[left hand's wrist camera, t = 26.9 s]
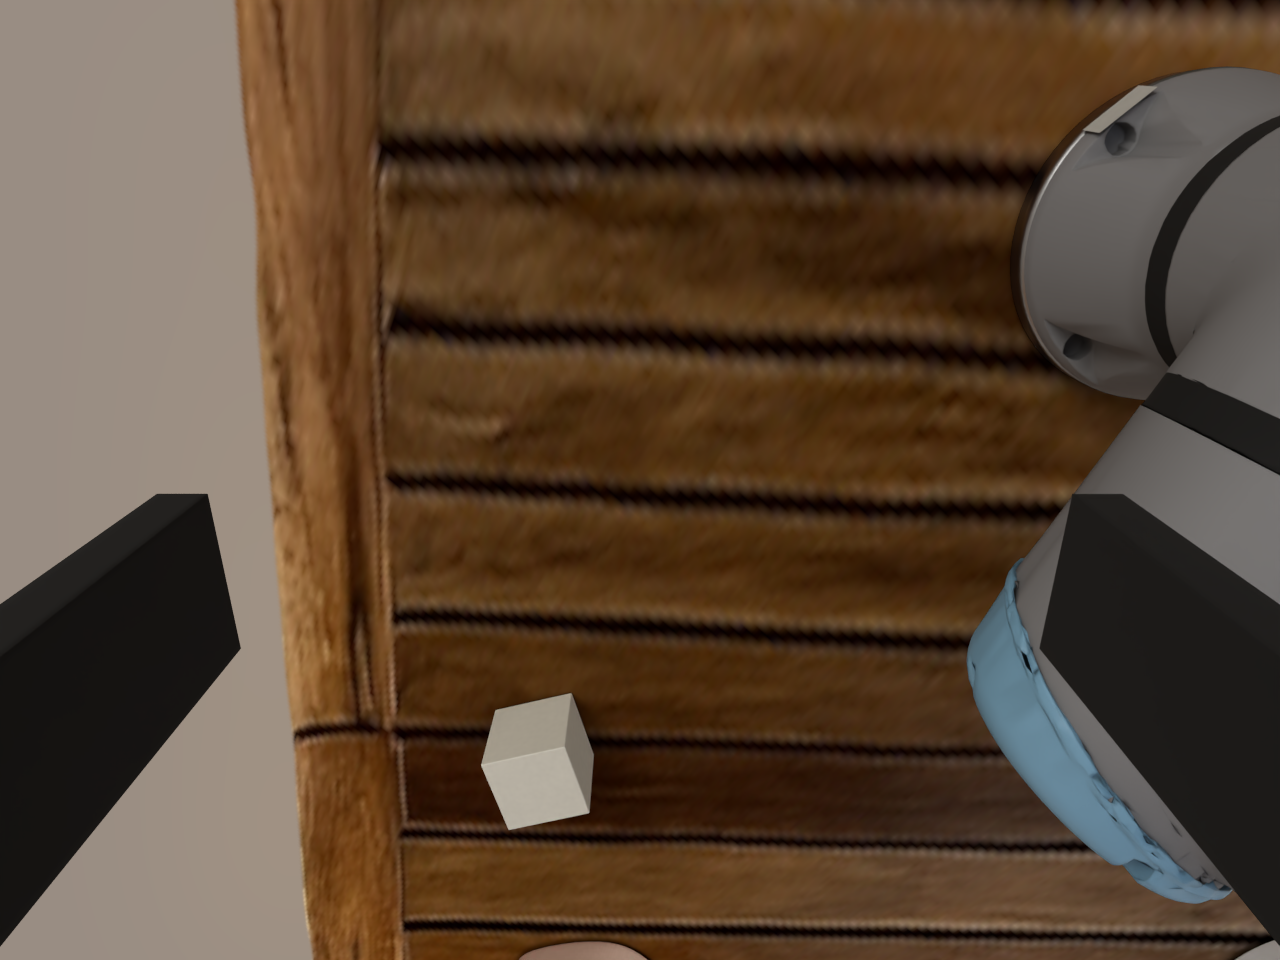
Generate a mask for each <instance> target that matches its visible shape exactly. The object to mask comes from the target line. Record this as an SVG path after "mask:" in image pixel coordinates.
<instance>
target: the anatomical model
mask: <svg viewBox="0 0 1280 960" xmlns="http://www.w3.org/2000/svg"><path fill="white" fill-rule="evenodd" d="M519 960H647V959H646V958H645V957H643V956H642V955H640V954H639V953H637V952H635V951H634V950H632V949H630V948H628V947H625V946H622V945H619V944H615V943H610V942H597V941H587V942H573V943H566V944H559V945H553V946H548V947H544V948H540V949H536V950H533V951H530V952H528V953H526V954H525V955H523V956H522V957H521V958H520V959H519Z"/></svg>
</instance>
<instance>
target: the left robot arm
mask: <svg viewBox="0 0 1280 960" xmlns="http://www.w3.org/2000/svg"><path fill="white" fill-rule="evenodd" d="M1010 277H1011V288H1012V294H1013V299H1014V304H1015V307H1016V310H1017V314H1018V316H1019V319H1020V321H1021V323H1022V326H1023V328H1024V330H1025V332H1026V333H1027V335H1028V337H1029V339H1030V340H1031V341H1032V343H1033V344H1034V346H1035V347H1036V348H1037V350H1038V351H1039V352H1040V353H1041V354H1042V355H1043V356H1044V357H1045V358H1046V359H1047V360H1048V361H1049V362H1050V363H1051V364H1053V365H1054V366H1055V367H1056V368H1058V369H1059V370H1061V371H1062V372H1064V373H1065V374H1067V375H1068V376H1070V377H1072V378H1074V379H1076V380H1078V381H1080V382H1082V383H1084V384H1086V385H1088V386H1090V387H1092V388H1094V389H1097V390H1099V391H1102V392H1105V393H1108V394H1112V395H1116V396H1120V397H1127V398H1133V399H1140V400H1145V402H1144V403H1143V404H1142V405H1143V406H1141V405H1140V406H1139V408H1138V409H1137V410H1136V412H1135V413H1134V414H1133V416H1132V417H1131V418H1130V420H1129V421H1128V422H1127V424H1126V425H1125V426H1124V428H1123V429H1122V430H1121V432H1120V433H1119V434H1118V436H1117V437H1116V438H1115V440H1114V441H1113V442H1112V444H1111V445H1110V446H1109V448H1108V449H1107V450H1106V452H1105V453H1104V454H1103V456H1102V457H1101V458H1100V460H1099V461H1098V462H1097V464H1096V465H1095V466H1094V468H1093V469H1092V470H1091V472H1090V473H1089V474H1088V476H1087V477H1086V478H1085V480H1084V481H1083V482H1082V484H1081V485H1080V486H1079V488H1078V489H1077V490H1076V492H1075V493H1074V494H1072V497H1071V498H1070V500H1069V501H1068V502H1067V504H1066V505H1065V506H1064V508H1063V509H1062V510H1061V512H1060V513H1059V514H1058V516H1057V517H1056V518H1055V520H1054V521H1053V522H1052V524H1051V525H1050V526H1049V528H1048V529H1047V530H1046V532H1045V533H1044V534H1043V536H1042V537H1041V538H1040V539H1039V541H1038V542H1037V543H1036V544H1035V546H1034V547H1033V548H1032V550H1031V551H1030V552H1029V553H1028V555H1027V556H1026V557H1025V558H1021V559H1019V560H1018V561H1017V562H1016V563H1015V564H1014V566H1013V567H1012V568H1011V570H1010V571H1009V572H1008V575H1007V578H1006V582H1005V586H1004V588H1003V589H1002V591H1001V592H1000V594H999V596H998V597H997V599H996V600H995V602H994V603H993V605H992V606H991V608H990V609H989V611H988V613H987V614H986V616H985V617H984V619H983V620H982V621H981V623H980V624H979V626H978V627H977V629H976V630H975V632H974V634H973V636H972V638H971V641H970V644H969V648H968V653H967V669H968V675H969V681H970V684H971V686H972V688H973V696H974V699H975V702H976V705H977V707H978V710H979V712H980V714H981V716H982V718H983V720H984V722H985V724H986V726H987V727H988V729H989V731H990V733H991V734H992V736H993V738H994V739H995V741H996V743H997V744H998V746H999V747H1000V749H1001V750H1002V752H1003V753H1004V754H1005V756H1006V757H1007V759H1008V760H1009V762H1010V763H1011V764H1012V766H1013V767H1014V768H1015V769H1016V771H1017V772H1018V773H1019V775H1020V776H1021V777H1022V778H1023V780H1024V781H1025V782H1026V783H1027V784H1028V786H1029V787H1030V788H1031V789H1032V790H1033V791H1034V793H1035V794H1036V795H1037V796H1038V797H1039V798H1040V800H1041V801H1042V802H1043V803H1044V804H1045V805H1046V806H1047V807H1048V808H1049V809H1050V810H1051V811H1052V812H1053V813H1054V815H1055V816H1056V817H1057V818H1058V819H1059V820H1060V821H1061V822H1062V823H1063V824H1064V825H1065V826H1066V827H1067V828H1068V829H1069V830H1070V831H1072V832H1073V833H1074V834H1075V835H1076V836H1077V837H1078V838H1079V839H1080V840H1081V841H1083V842H1084V843H1085V844H1086V845H1087V846H1088V847H1089V848H1091V849H1092V850H1093V851H1094V852H1096V853H1097V854H1098V855H1099V856H1101V857H1102V858H1103V859H1105V860H1106V861H1107V862H1109V863H1110V864H1112V865H1123V866H1124V867H1125V868H1126V870H1127V871H1128V872H1129V873H1130V874H1131V876H1132V877H1133V878H1134V879H1135V880H1136V882H1137V883H1139V884H1140V885H1142V886H1144V887H1146V888H1147V889H1149V890H1151V891H1153V892H1155V893H1157V894H1159V895H1161V896H1163V897H1166V898H1169V899H1172V900H1175V901H1179V902H1186V903H1194V904H1196V903H1202V902H1205V901H1208V900H1210V899H1212V900H1220V899H1223V898H1224V897H1226V896H1227V895H1228V894H1230V893H1231V891H1232V890H1234V891H1235V892H1236V893H1237V894H1238V895H1239V897H1240V898H1241V899H1242V900H1243V902H1244V903H1245V904H1246V905H1247V906H1248V908H1249V909H1250V910H1251V911H1252V913H1253V914H1254V915H1255V916H1256V918H1257V919H1258V920H1259V921H1260V923H1261V924H1262V925H1263V926H1264V928H1265V929H1266V930H1267V931H1268V933H1269V934H1270V935H1271V936H1272V937H1273V939H1274V940H1275V941H1276V942H1277V944H1278V945H1279V946H1280V75H1278V74H1275V73H1271V72H1266V71H1261V70H1255V69H1249V68H1242V67H1213V68H1205V69H1198V70H1192V71H1185V72H1179V73H1173V74H1169V75H1165V76H1162V77H1158V78H1155V79H1152V80H1149V81H1147V82H1144V83H1141V84H1139V85H1137V86H1135V87H1132V88H1130V89H1128V90H1126V91H1124V92H1122V93H1121V94H1119V95H1117V96H1115V97H1114V98H1112V99H1110V100H1109V101H1107V102H1106V103H1104V104H1103V105H1102V106H1100V107H1099V108H1097V109H1096V110H1094V111H1093V112H1092V113H1091V114H1090V115H1088V116H1087V117H1086V118H1085V119H1084V120H1082V121H1081V122H1080V123H1079V124H1078V125H1077V126H1076V127H1075V128H1074V129H1073V130H1072V131H1071V132H1070V133H1069V134H1068V135H1067V136H1066V137H1065V138H1064V139H1063V140H1062V141H1061V143H1060V144H1059V145H1058V146H1057V147H1056V148H1055V150H1054V151H1053V152H1052V154H1051V155H1050V156H1049V158H1048V159H1047V161H1046V162H1045V163H1044V165H1043V166H1042V168H1041V170H1040V171H1039V173H1038V175H1037V176H1036V178H1035V180H1034V182H1033V183H1032V185H1031V187H1030V189H1029V191H1028V193H1027V196H1026V198H1025V201H1024V203H1023V205H1022V208H1021V210H1020V214H1019V217H1018V220H1017V223H1016V227H1015V232H1014V236H1013V241H1012V249H1011V257H1010ZM240 649H241V647H240V643H239V638H238V634H237V629H236V624H235V620H234V615H233V610H232V606H231V601H230V596H229V592H228V587H227V582H226V578H225V573H224V568H223V564H222V559H221V554H220V550H219V545H218V540H217V536H216V531H215V526H214V522H213V517H212V512H211V508H210V503H209V498H208V494H156V495H155V496H153V497H152V498H151V499H149V500H148V501H146V502H145V503H143V504H142V505H141V506H139V507H138V508H136V509H135V510H134V511H132V512H131V513H129V514H128V515H126V516H125V517H124V518H122V519H121V520H119V521H118V522H116V523H115V524H114V525H112V526H111V527H109V528H108V529H107V530H105V531H104V532H102V533H101V534H99V535H98V536H97V537H95V538H94V539H92V540H91V541H89V542H88V543H87V544H85V545H84V546H82V547H81V548H80V549H78V550H77V551H75V552H74V553H73V554H71V555H70V556H68V557H67V558H65V559H64V560H62V561H61V562H60V563H58V564H57V565H55V566H54V567H53V568H51V569H50V570H48V571H47V572H45V573H44V574H43V575H41V576H40V577H38V578H37V579H36V580H34V581H33V582H31V583H30V584H28V585H27V586H26V587H24V588H23V589H21V590H20V591H18V592H17V593H16V594H14V595H13V596H11V597H10V598H9V599H7V600H6V601H4V602H3V603H1V604H0V946H1V945H2V944H3V942H4V941H5V940H6V939H7V937H8V936H9V935H10V934H11V933H12V931H13V930H14V929H15V928H16V926H17V925H18V924H19V923H20V921H21V920H22V919H23V918H24V916H25V915H26V914H27V913H28V911H29V910H30V909H31V908H32V906H33V905H34V904H35V903H36V902H37V900H38V899H39V898H40V896H41V895H42V894H43V893H44V892H45V890H46V889H47V888H48V887H49V885H50V884H51V883H52V882H53V880H54V879H55V878H56V877H57V876H58V874H59V873H60V872H61V871H62V869H63V868H64V867H65V866H66V864H67V863H68V862H69V861H70V859H71V858H72V857H73V856H74V854H75V853H76V852H77V851H78V850H79V848H80V847H81V846H82V845H83V843H84V842H85V841H86V840H87V838H88V837H89V836H90V835H91V833H92V832H93V831H94V830H95V828H96V827H97V826H98V825H99V823H100V822H101V821H102V820H103V819H104V817H105V816H106V815H107V814H108V812H109V811H110V810H111V809H112V807H113V806H114V805H115V804H116V802H117V801H118V800H119V799H120V797H121V796H122V795H123V794H124V793H125V791H126V790H127V789H128V788H129V786H130V785H131V784H132V783H133V781H134V780H135V779H136V778H137V776H138V775H139V774H140V773H141V771H142V770H143V769H144V768H145V767H146V765H147V764H148V763H149V761H150V760H151V759H152V758H153V757H154V755H155V754H156V753H157V752H158V750H159V749H160V748H161V747H162V745H163V744H164V743H165V742H166V740H167V739H168V738H169V737H170V736H171V734H172V733H173V732H174V731H175V729H176V728H177V727H178V726H179V724H180V723H181V722H182V721H183V719H184V718H185V717H186V716H187V714H188V713H189V712H190V711H191V709H192V708H193V707H194V706H195V705H196V703H197V702H198V701H199V700H200V698H201V697H202V696H203V695H204V693H205V692H206V691H207V690H208V688H209V687H210V686H211V685H212V683H213V682H214V681H215V680H216V679H217V677H218V676H219V675H220V674H221V672H222V671H223V670H224V669H225V667H226V666H227V665H228V664H229V662H230V661H231V660H232V659H233V657H234V656H235V655H236V654H237V653H238V651H239V650H240Z"/></svg>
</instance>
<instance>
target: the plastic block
mask: <svg viewBox="0 0 1280 960" xmlns="http://www.w3.org/2000/svg"><path fill="white" fill-rule="evenodd" d="M593 759H594V754H593V751H592V748H591V746H590V743H589V740H588V737H587V735H586V732H585V729H584V726H583V723H582V721H581V718H580V715H579V712H578V710H577V707H576V704H575V701H574V698H573V696H572V694H571V693H569V694H565V695H560V696H556V697H552V698H547V699H543V700H538V701H534V702H529V703H525V704H520V705H516V706H511V707H507V708H503V709H498V710H496V711H495V714H494V718H493V722H492V726H491V730H490V733H489V737H488V741H487V745H486V749H485V753H484V756H483V760H482V764H481V766H482V768H483V771H484V773H485V775H486V778H487V780H488V782H489V785H490V787H491V789H492V792H493V794H494V796H495V799H496V801H497V803H498V806H499V808H500V811H501V813H502V815H503V818H504V820H505V822H506V825H507V827H508V829H509V830H511V829H516V828H521V827H525V826H530V825H535V824H540V823H544V822H549V821H554V820H559V819H564V818H568V817H573V816H578V815H583V814H587V813H589V811H590V798H591V785H592V772H593Z"/></svg>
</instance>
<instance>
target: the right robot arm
mask: <svg viewBox="0 0 1280 960" xmlns="http://www.w3.org/2000/svg"><path fill="white" fill-rule="evenodd" d="M1235 960H1280V946H1279V945H1278V944H1277V942H1276V941H1275V940H1273V941H1271V942H1268V943H1265V944H1263V945H1261V946H1258V947H1256V948H1254V949H1252V950H1250V951H1248V952H1246V953H1245V954H1243V955H1241V956H1240V957H1238V958H1236V959H1235Z"/></svg>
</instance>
